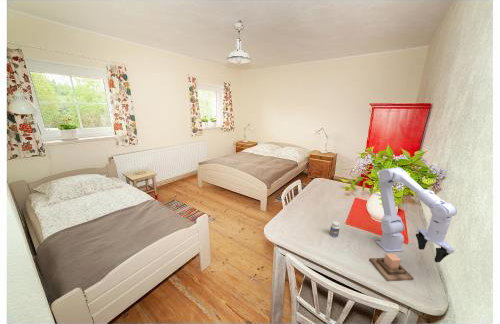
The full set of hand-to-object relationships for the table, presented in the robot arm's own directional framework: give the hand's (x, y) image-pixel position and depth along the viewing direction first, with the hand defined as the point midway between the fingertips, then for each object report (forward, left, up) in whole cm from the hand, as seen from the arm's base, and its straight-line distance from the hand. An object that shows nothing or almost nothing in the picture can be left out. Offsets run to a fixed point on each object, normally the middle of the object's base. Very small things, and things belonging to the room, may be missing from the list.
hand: (428, 255), depth 86 cm
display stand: (+15, -2, -9) cm, 18 cm away
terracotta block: (+15, -2, -8) cm, 17 cm away
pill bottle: (+29, -28, -10) cm, 41 cm away
